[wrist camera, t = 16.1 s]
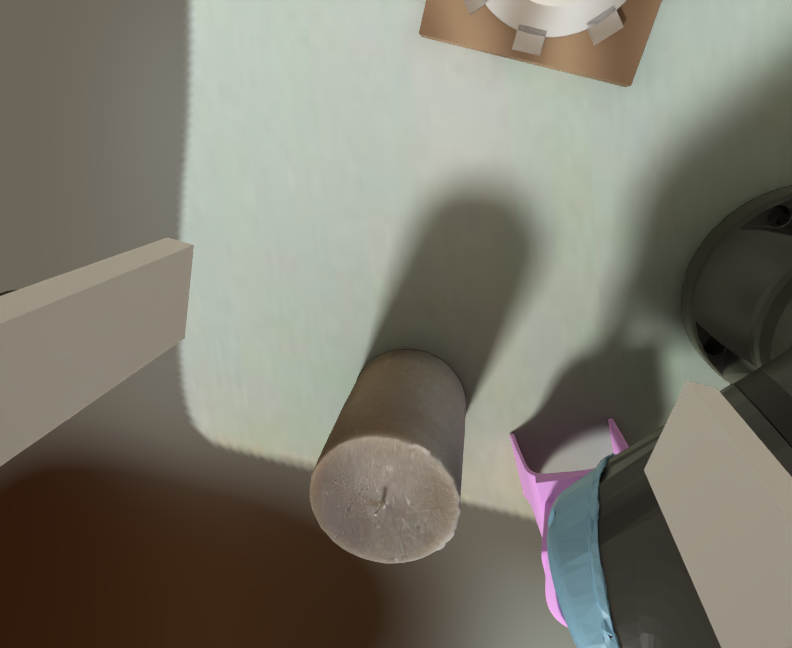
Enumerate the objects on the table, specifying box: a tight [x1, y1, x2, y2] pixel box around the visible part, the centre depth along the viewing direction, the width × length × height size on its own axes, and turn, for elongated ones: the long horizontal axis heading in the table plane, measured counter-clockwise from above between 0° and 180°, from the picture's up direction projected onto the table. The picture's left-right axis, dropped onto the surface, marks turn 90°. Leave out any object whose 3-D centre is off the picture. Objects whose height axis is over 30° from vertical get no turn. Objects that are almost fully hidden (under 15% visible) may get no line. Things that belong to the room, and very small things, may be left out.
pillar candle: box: [310, 349, 466, 563], centre depth 41 cm, size 10×10×15 cm
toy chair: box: [510, 418, 629, 627], centre depth 40 cm, size 8×9×15 cm
